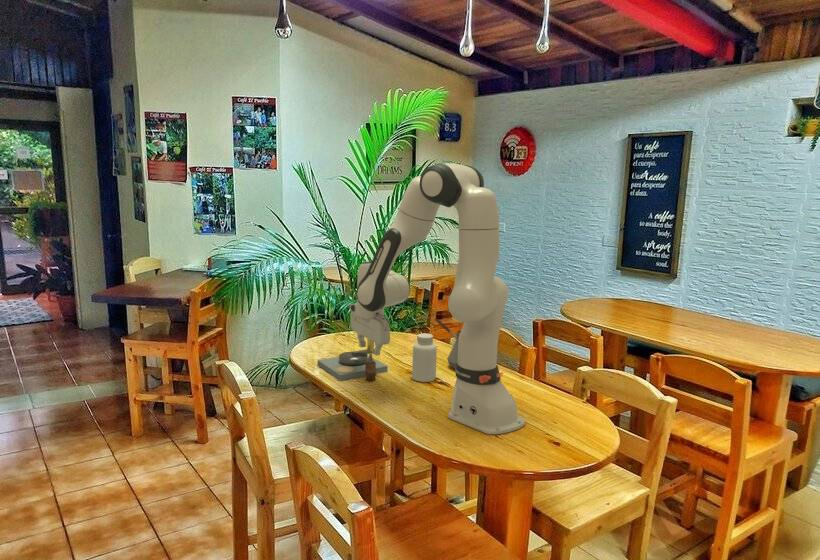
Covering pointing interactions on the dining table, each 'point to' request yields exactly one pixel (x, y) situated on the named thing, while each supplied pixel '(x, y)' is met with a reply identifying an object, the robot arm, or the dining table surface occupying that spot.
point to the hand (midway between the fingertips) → (369, 350)
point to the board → (347, 368)
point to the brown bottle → (370, 370)
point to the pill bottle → (424, 358)
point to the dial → (357, 355)
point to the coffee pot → (454, 352)
